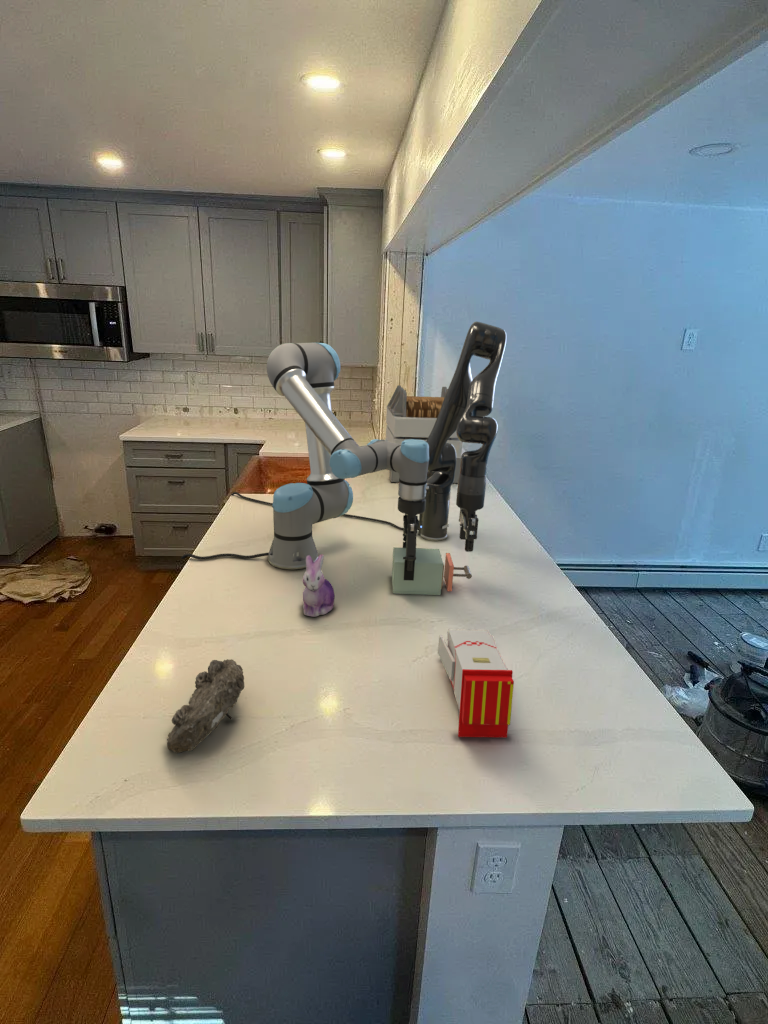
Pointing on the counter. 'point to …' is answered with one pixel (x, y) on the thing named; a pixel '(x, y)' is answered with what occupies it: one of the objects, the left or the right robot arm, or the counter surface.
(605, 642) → the counter surface
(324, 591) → the figurine
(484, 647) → the toy
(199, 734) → the fossil
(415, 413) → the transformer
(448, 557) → the drawer
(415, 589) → the cabinet
